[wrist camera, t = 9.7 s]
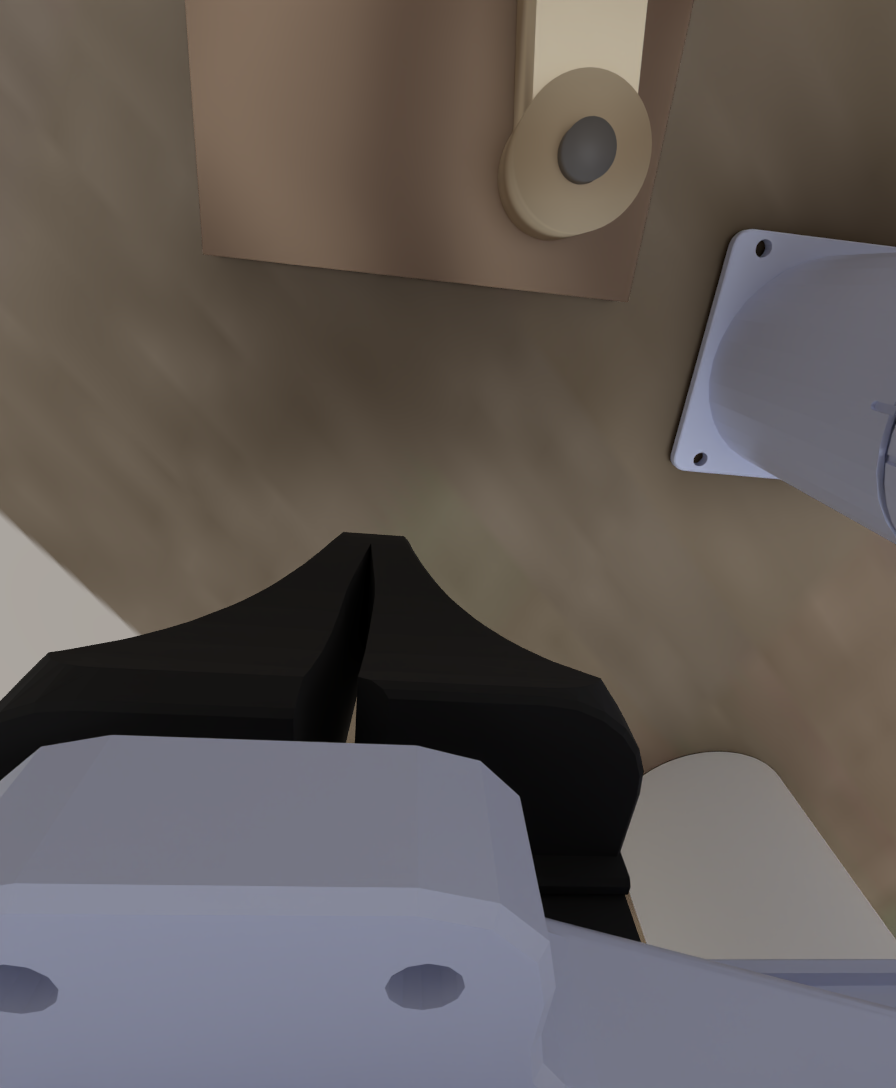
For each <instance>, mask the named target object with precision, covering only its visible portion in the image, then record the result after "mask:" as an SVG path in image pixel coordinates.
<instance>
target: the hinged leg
mask: <svg viewBox="0 0 896 1088" xmlns="http://www.w3.org/2000/svg"><path fill="white" fill-rule="evenodd" d="M647 3H648V0H517V29H516V61H515V94H514V126H513V132H512V134H511V136H510V137H509V139H508V141H507V142H506V145H505V147H504V149H503V152H502V155H501V158H500V163H499V169H498V188H499V195H500V198H501V202H502V205H503V207H504V210H505V212H506V213H507V215H508V217H509V218H510V220H511V221H512V222H513V223H514V225H515V226H516V227H517V228H518V229H520V230H521V231H522V232H524V233H525V234H527V235H529V236H531V237H533V238H536V239H540V240H548V241H552V240H560V239H564V238H568V237H571V236H575V235H579V234H582V233H586V232H589V231H593V230H596V229H598V228H601V227H603V226H605V225H607V224H609V223H611V222H612V221H613V220H615V219H616V218H617V217H619V216H620V215H621V214H622V213H623V212H624V211H625V210H626V209H627V208H628V207H629V205H630V204H631V203H632V202H633V200H634V199H635V197H636V196H637V194H638V193H639V191H640V189H641V187H642V185H643V182H644V180H645V177H646V175H647V171H648V168H649V164H650V158H651V151H652V132H651V126H650V121H649V117H648V114H647V111H646V108H645V106H644V104H643V101H642V100H641V98H640V96H639V95H638V89H639V79H640V70H641V60H642V51H643V41H644V32H645V22H646V13H647Z"/></svg>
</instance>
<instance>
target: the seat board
mask: <svg viewBox="0 0 896 1088" xmlns="http://www.w3.org/2000/svg"><path fill="white" fill-rule="evenodd" d="M693 3H694V0H648V3H647V13H646V22H645V32H644V41H643V51H642V60H641V70H640V79H639V89H638V95H639V96H640V98H641V100H642V101H643V104H644V106H645V108H646V111H647V114H648V117H649V121H650V126H651V132H652V151H651V158H650V164H649V168H648V171H647V175H646V177H645V180H644V182H643V185H642V187H641V189H640V191H639V193H638V194H637V196H636V197H635V199H634V200H633V202H632V203H631V204H630V205H629V207H628V208H627V209H626V210H625V211H624V212H623V213H622V214H621V215H620V216H619V217H617V218H616V219H615V220H613V221H612V222H611V223H609V224H607V225H605V226H603V227H601V228H598V229H596V230H593V231H589V232H586V233H582V234H579V235H575V236H571V237H568V238H564V239H560V240H552V241H548V240H540V239H536V238H533V237H531V236H529V235H527V234H525V233H524V232H522V231H521V230H520V229H518V228H517V227H516V226H515V225H514V223H513V222H512V221H511V220H510V218H509V217H508V215H507V213H506V212H505V210H504V207H503V205H502V202H501V198H500V195H499V188H498V169H499V163H500V158H501V155H502V152H503V149H504V147H505V145H506V142H507V141H508V139H509V137H510V136H511V134H512V132H513V126H514V94H515V61H516V29H517V0H185V9H186V23H187V37H188V51H189V65H190V79H191V93H192V107H193V121H194V135H195V149H196V163H197V177H198V191H199V205H200V219H201V233H202V247H203V254H205V255H214V256H222V257H231V258H240V259H249V260H258V261H267V262H276V263H284V264H293V265H302V266H311V267H320V268H329V269H337V270H346V271H355V272H364V273H373V274H382V275H391V276H399V277H408V278H417V279H426V280H435V281H444V282H452V283H461V284H470V285H479V286H488V287H497V288H506V289H514V290H523V291H532V292H541V293H550V294H559V295H567V296H576V297H585V298H594V299H603V300H612V301H621V302H628V301H629V297H630V292H631V288H632V283H633V278H634V274H635V269H636V265H637V260H638V255H639V251H640V246H641V242H642V237H643V233H644V228H645V223H646V219H647V214H648V210H649V205H650V200H651V196H652V191H653V187H654V182H655V178H656V173H657V168H658V164H659V159H660V155H661V150H662V145H663V141H664V136H665V132H666V127H667V123H668V118H669V113H670V109H671V104H672V100H673V95H674V90H675V86H676V81H677V77H678V72H679V67H680V63H681V58H682V54H683V49H684V45H685V40H686V35H687V31H688V26H689V22H690V17H691V12H692V8H693Z"/></svg>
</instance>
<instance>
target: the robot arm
mask: <svg viewBox="0 0 896 1088" xmlns="http://www.w3.org/2000/svg"><path fill="white" fill-rule="evenodd" d="M761 240H762V241H764V244H765V251H764V253H763V255H761V256H760V257H758V256H757V254H756V246H757V244H758V243H759V242H760V241H761ZM698 453H703V457H702V459H701V460H700V461H699V462H698V463H694V462H693V461H694V457H695V455H697V454H698ZM671 462H672V464H673V465H674V466H675V467H676V468H678V469H679V470H683V471H693V472H704V473H715V474H726V475H737V476H749V477H760V478H771V479H781V480H782V481H784V482H786V483H788V484H790V485H791V486H793V487H795V488H797V489H798V490H800V491H802V492H804V493H806V494H807V495H809V496H811V497H813V498H814V499H816V500H818V501H820V502H822V503H823V504H825V505H827V506H829V507H830V508H832V509H834V510H836V511H838V512H839V513H841V514H843V515H845V516H846V517H848V518H850V519H852V520H854V521H855V522H857V523H859V524H861V525H862V526H864V527H866V528H868V529H870V530H871V531H873V532H875V533H877V534H878V535H880V536H882V537H884V538H886V539H887V540H889V541H891V542H893V543H894V544H896V247H892V246H885V245H877V244H869V243H861V242H853V241H845V240H837V239H829V238H821V237H813V236H805V235H797V234H789V233H781V232H774V231H766V230H758V229H748V230H742V231H740V232H738V233H736V235H735V236H734V237H733V238H732V239H731V241H730V243H729V246H728V250H727V253H726V257H725V260H724V264H723V268H722V271H721V275H720V279H719V282H718V286H717V289H716V293H715V297H714V300H713V304H712V307H711V311H710V315H709V318H708V322H707V326H706V329H705V333H704V336H703V340H702V344H701V347H700V351H699V355H698V358H697V362H696V365H695V369H694V373H693V376H692V380H691V384H690V387H689V391H688V394H687V398H686V402H685V405H684V409H683V412H682V416H681V420H680V423H679V427H678V431H677V434H676V438H675V441H674V445H673V449H672V452H671ZM356 697H357V708H356V730H355V743H346V740H347V735H348V731H349V727H350V723H351V719H352V714H353V710H354V706H355V702H356ZM643 772H644V771H643V766H642V761H641V756H640V751H639V748H638V746H637V744H636V741H635V739H634V737H633V735H632V733H631V731H630V729H629V727H628V725H627V723H626V721H625V719H624V717H623V715H622V713H621V711H620V709H619V708H618V706H617V704H616V702H615V701H614V699H613V698H612V696H611V695H610V693H609V691H608V690H607V688H606V687H605V685H604V683H603V681H602V680H601V678H598V677H595V676H592V675H589V674H587V673H584V672H581V671H578V670H575V669H572V668H570V667H567V666H564V665H561V664H558V663H555V662H553V661H550V660H548V659H545V658H543V657H541V656H539V655H537V654H535V653H533V652H530V651H528V650H526V649H524V648H522V647H520V646H518V645H516V644H514V643H513V642H511V641H509V640H507V639H505V638H504V637H502V636H500V635H499V634H497V633H496V632H494V631H492V630H491V629H489V628H488V627H486V626H484V625H483V624H482V623H480V622H479V621H477V620H476V619H475V618H473V617H472V616H471V615H470V614H468V613H467V612H466V611H465V610H463V609H462V608H461V607H460V606H459V605H457V604H456V603H455V602H454V601H453V600H452V599H451V598H450V597H449V596H448V595H447V594H446V593H445V592H444V591H443V590H442V589H441V588H440V587H439V586H438V584H437V583H436V582H435V581H434V580H433V578H432V577H431V576H430V574H429V573H428V572H427V570H426V569H425V568H424V566H423V565H422V564H421V562H420V561H419V559H418V557H417V556H416V554H415V553H414V551H413V549H412V547H411V545H410V543H409V542H408V540H407V539H406V538H405V537H404V536H392V535H377V534H363V533H349V532H343V533H342V534H340V535H339V536H338V537H337V538H335V539H334V540H333V541H332V542H331V543H329V544H328V545H327V546H326V547H325V548H323V549H322V550H321V551H320V552H319V553H317V554H316V555H315V556H314V557H312V558H311V559H310V560H309V561H307V562H306V563H305V564H303V565H302V566H301V567H299V568H298V569H296V570H295V571H293V572H292V573H290V574H289V575H287V576H286V577H284V578H283V579H281V580H280V581H278V582H277V583H275V584H273V585H272V586H270V587H268V588H266V589H264V590H263V591H261V592H259V593H257V594H255V595H253V596H251V597H249V598H247V599H245V600H243V601H241V602H239V603H236V604H234V605H232V606H229V607H227V608H224V609H221V610H219V611H216V612H214V613H211V614H208V615H206V616H203V617H201V618H198V619H195V620H193V621H190V622H187V623H183V624H180V625H177V626H173V627H170V628H167V629H163V630H159V631H155V632H152V633H148V634H144V635H140V636H136V637H132V638H127V639H123V640H118V641H112V642H107V643H101V644H96V645H91V646H85V647H80V648H74V649H69V650H63V651H56V652H49V653H48V654H47V655H46V656H45V657H43V658H42V659H41V660H40V661H39V662H38V663H37V664H36V665H35V666H34V667H33V668H32V669H31V670H30V671H29V672H28V673H27V674H26V675H25V676H24V677H23V678H22V679H21V680H20V681H19V682H18V683H17V685H15V687H14V688H13V689H12V690H11V691H10V692H9V693H8V694H7V695H6V696H5V697H4V698H3V699H2V700H1V701H0V1088H896V959H703V958H700V957H696V956H692V955H688V954H684V953H680V952H676V951H672V950H669V949H665V948H661V947H657V946H653V945H649V944H645V943H641V941H640V938H639V935H638V932H637V929H636V926H635V923H634V921H633V918H632V915H631V912H630V909H629V906H628V903H627V900H626V897H625V894H626V895H628V893H629V890H630V887H631V886H630V876H629V874H628V871H627V868H626V866H625V863H624V860H623V857H622V855H621V852H620V851H621V848H622V845H623V842H624V839H625V836H626V833H627V830H628V828H629V825H630V822H631V819H632V816H633V813H634V810H635V807H636V804H637V801H638V798H639V795H640V790H641V784H642V778H643Z"/></svg>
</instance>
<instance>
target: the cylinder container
mask: <svg viewBox="0 0 896 1088" xmlns="http://www.w3.org/2000/svg"><path fill="white" fill-rule="evenodd" d="M620 852H621V855H622V857H623V860H624V863H625V866H626V868H627V871H628V874H629V876H630V886H631V887H630V890H629V893H630V896H631V899H632V902H633V905H634V908H635V911H636V914H637V917H638V919H639V922H640V925H641V928H642V931H643V934H644V937H645V940H646V943H647V944H649V945H653V946H657V947H661V948H665V949H669V950H672V951H676V952H680V953H684V954H688V955H692V956H696V957H700V958H703V959H896V939H895V938H894V936H893V935H892V934H891V932H890V931H889V930H888V928H887V927H886V925H885V924H884V923H883V921H882V920H881V918H880V917H879V916H878V914H877V913H876V911H875V910H874V909H873V907H872V906H871V904H870V903H869V902H868V900H867V899H866V897H865V896H864V895H863V893H862V892H861V890H860V889H859V888H858V886H857V885H856V883H855V882H854V881H853V879H852V878H851V876H850V875H849V874H848V872H847V871H846V869H845V868H844V867H843V865H842V864H841V862H840V861H839V860H838V858H837V857H836V855H835V854H834V853H833V851H832V850H831V848H830V847H829V846H828V844H827V843H826V841H825V840H824V839H823V837H822V836H821V834H820V833H819V832H818V830H817V829H816V827H815V826H814V825H813V823H812V822H811V820H810V819H809V818H808V816H807V815H806V813H805V812H804V811H803V809H802V808H801V806H800V805H799V804H798V802H797V801H796V799H795V798H794V797H793V795H792V794H791V792H790V791H789V790H788V788H787V787H786V785H785V784H784V783H783V781H782V780H781V779H780V777H779V776H778V774H777V773H776V772H775V771H774V770H773V769H772V768H771V767H769V766H768V765H767V764H765V763H763V762H762V761H760V760H758V759H756V758H753V757H750V756H747V755H743V754H739V753H732V752H704V753H698V754H693V755H688V756H684V757H681V758H678V759H675V760H672V761H669V762H667V763H664V764H662V765H660V766H658V767H656V768H654V769H653V770H651V771H649V772H648V773H646V774H645V775H643V778H642V784H641V790H640V795H639V798H638V801H637V804H636V807H635V810H634V813H633V816H632V819H631V822H630V825H629V828H628V830H627V833H626V836H625V839H624V842H623V845H622V848H621V851H620Z"/></svg>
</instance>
